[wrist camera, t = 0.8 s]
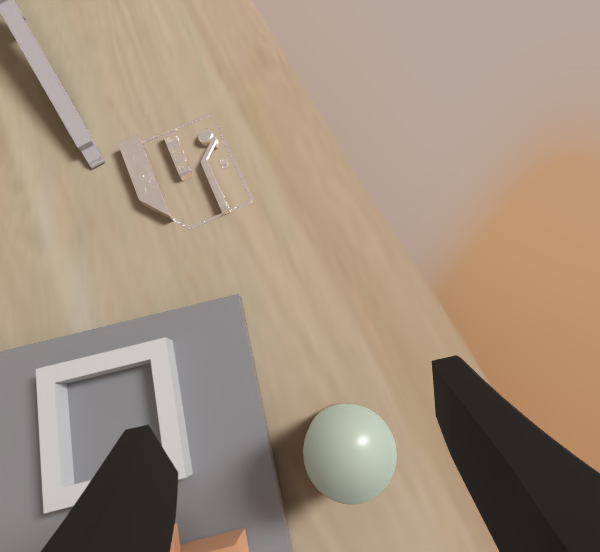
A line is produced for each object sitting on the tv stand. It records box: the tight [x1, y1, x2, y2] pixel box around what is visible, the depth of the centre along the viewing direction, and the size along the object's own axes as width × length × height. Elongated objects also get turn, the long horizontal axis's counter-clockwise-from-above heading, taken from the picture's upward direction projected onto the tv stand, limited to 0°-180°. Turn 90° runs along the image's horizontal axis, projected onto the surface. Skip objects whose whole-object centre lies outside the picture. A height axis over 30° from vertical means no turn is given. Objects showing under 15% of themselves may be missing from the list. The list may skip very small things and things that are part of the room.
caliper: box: [0, 0, 105, 169], centre depth 30 cm, size 20×1×6 cm, turn 31°
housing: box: [0, 294, 293, 552], centre depth 23 cm, size 15×16×2 cm
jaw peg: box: [303, 403, 397, 504], centre depth 21 cm, size 4×4×6 cm
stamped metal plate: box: [118, 114, 254, 229], centre depth 29 cm, size 8×7×2 cm
